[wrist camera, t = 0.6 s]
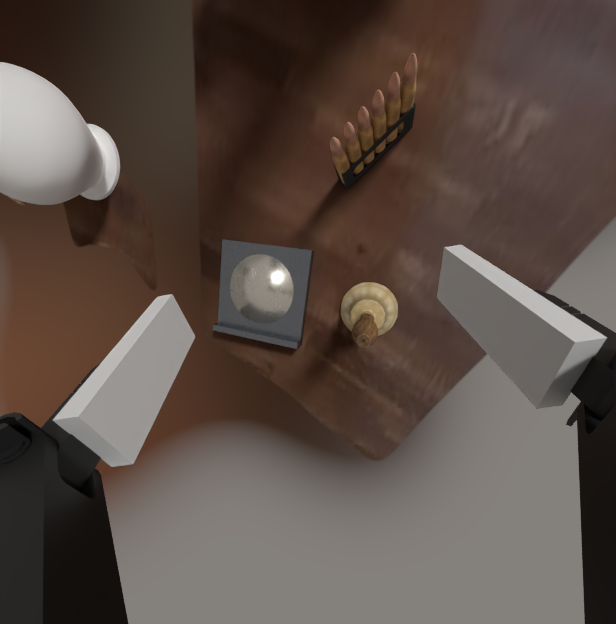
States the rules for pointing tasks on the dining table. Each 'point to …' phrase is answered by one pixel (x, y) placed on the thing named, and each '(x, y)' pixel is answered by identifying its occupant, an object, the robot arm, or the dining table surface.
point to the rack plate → (264, 292)
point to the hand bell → (368, 312)
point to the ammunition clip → (377, 127)
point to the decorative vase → (50, 144)
